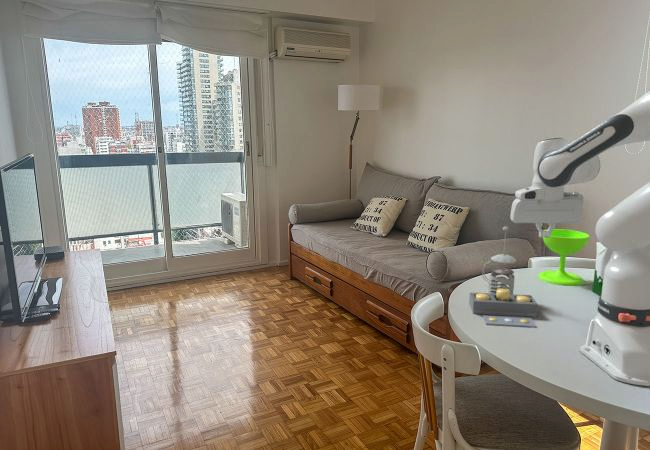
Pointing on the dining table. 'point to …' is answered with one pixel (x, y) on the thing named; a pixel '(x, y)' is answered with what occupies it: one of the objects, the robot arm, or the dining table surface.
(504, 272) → the french press
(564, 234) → the wineglass
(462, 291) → the dining table surface
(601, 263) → the milk carton
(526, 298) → the right button
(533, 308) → the button board
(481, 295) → the left button
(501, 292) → the middle button
